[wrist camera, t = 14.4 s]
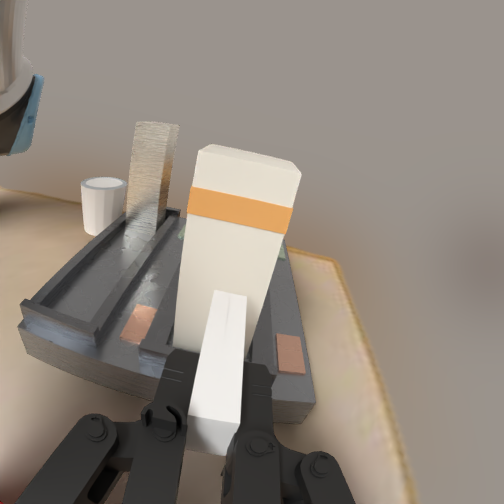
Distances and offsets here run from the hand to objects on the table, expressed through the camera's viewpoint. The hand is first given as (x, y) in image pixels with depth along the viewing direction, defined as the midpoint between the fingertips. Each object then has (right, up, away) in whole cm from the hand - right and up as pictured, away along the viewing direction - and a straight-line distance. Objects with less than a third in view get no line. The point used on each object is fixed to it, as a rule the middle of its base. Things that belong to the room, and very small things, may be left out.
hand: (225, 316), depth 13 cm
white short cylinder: (-21, +6, +25) cm, 33 cm away
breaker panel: (-6, -1, +16) cm, 17 cm away
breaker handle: (-2, -3, +7) cm, 8 cm away
